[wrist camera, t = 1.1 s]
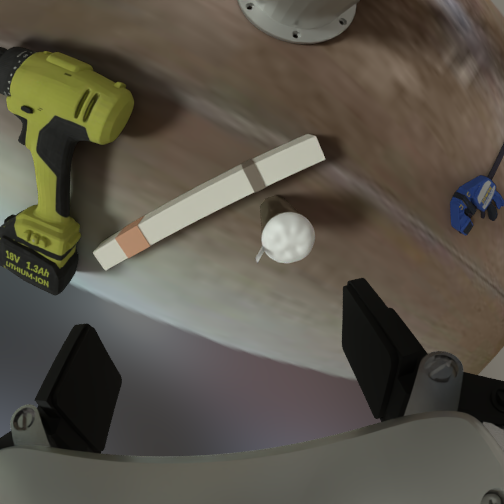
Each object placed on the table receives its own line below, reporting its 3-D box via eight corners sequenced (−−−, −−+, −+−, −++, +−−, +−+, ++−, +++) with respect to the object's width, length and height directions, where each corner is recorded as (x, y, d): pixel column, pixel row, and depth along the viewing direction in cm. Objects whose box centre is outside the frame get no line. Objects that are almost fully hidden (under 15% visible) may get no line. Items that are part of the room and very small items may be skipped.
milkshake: (240, 199, 32) (246, 235, 23) (288, 183, 31) (313, 213, 22) (254, 237, 34) (264, 284, 25) (299, 221, 33) (326, 263, 24)
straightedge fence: (307, 133, 29) (315, 135, 26) (316, 155, 30) (326, 159, 27) (101, 241, 32) (92, 252, 30) (113, 258, 33) (105, 271, 31)
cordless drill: (-43, 202, 27) (3, 35, 19) (77, 276, 35) (154, 89, 26) (-72, 220, 21) (-29, 29, 12) (56, 307, 28) (138, 84, 20)
